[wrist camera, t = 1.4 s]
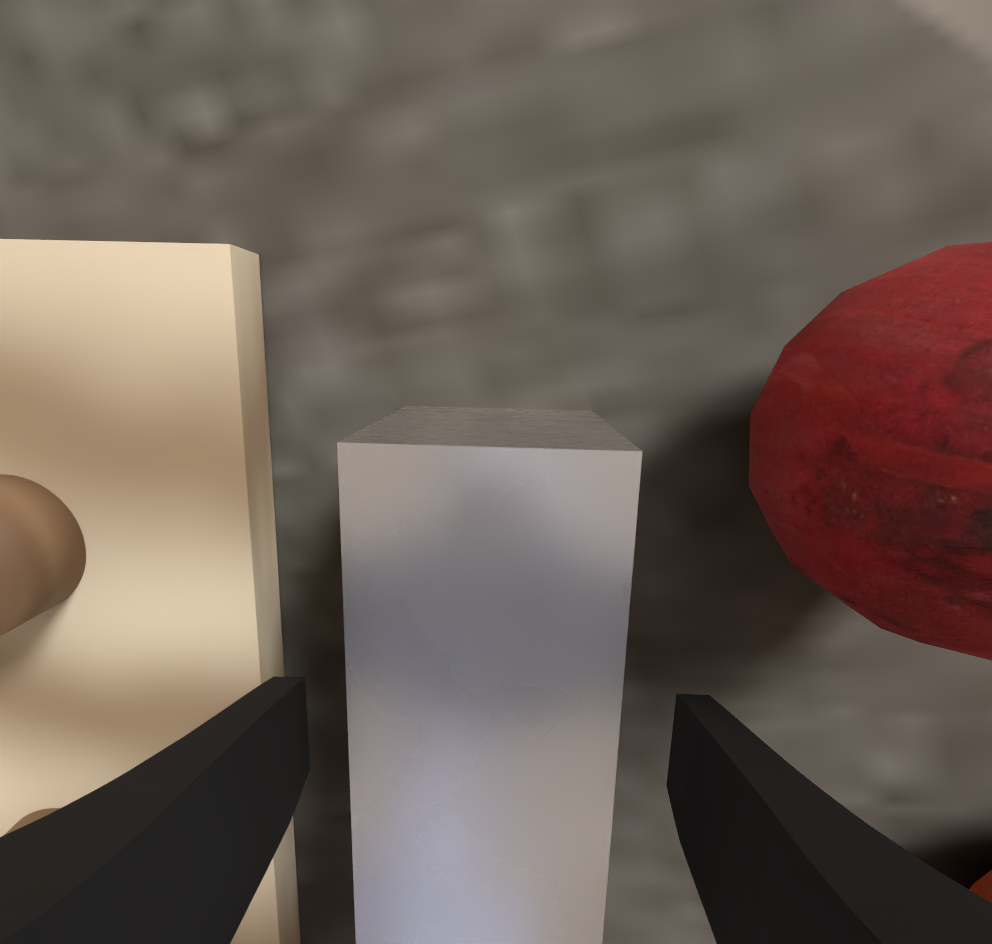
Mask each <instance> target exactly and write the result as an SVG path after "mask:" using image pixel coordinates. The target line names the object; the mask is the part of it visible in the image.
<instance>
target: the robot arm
mask: <svg viewBox="0 0 992 944" xmlns="http://www.w3.org/2000/svg"><path fill="white" fill-rule="evenodd" d="M309 769H310V767H309V749H308V730H307V712H306V693H305V678H300V677H277V676H274V677H272V678H270V679H269V680H267V681H265V682H264V683H262V684H261V685H259V686H258V687H256V688H255V689H253V690H252V691H250V692H249V693H247V694H246V695H244V696H243V697H241V698H240V699H238V700H237V701H235V702H234V703H233V704H231V705H230V706H228V707H227V708H225V709H224V710H222V711H221V712H219V713H218V714H216V715H215V716H213V717H212V718H210V719H209V720H207V721H206V722H205V723H203V724H202V725H200V726H199V727H197V728H196V729H194V730H193V731H191V732H190V733H188V734H187V735H185V736H184V737H182V738H181V739H179V740H177V741H176V742H174V743H173V744H171V745H169V746H168V747H166V748H165V749H163V750H161V751H160V752H158V753H156V754H155V755H153V756H152V757H150V758H148V759H147V760H145V761H144V762H142V763H140V764H139V765H137V766H136V767H134V768H132V769H131V770H129V771H128V772H126V773H124V774H122V775H121V776H119V777H117V778H116V779H114V780H112V781H110V782H108V783H107V784H105V785H103V786H101V787H100V788H98V789H96V790H94V791H92V792H90V793H89V794H87V795H85V796H83V797H81V798H79V799H77V800H75V801H73V802H72V803H70V804H68V805H66V806H64V807H62V808H60V809H58V810H56V811H54V812H52V813H50V814H48V815H46V816H44V817H42V818H40V819H38V820H36V821H34V822H32V823H29V824H27V825H25V826H23V827H21V828H19V829H17V830H14V831H12V832H10V833H8V834H6V835H4V836H1V837H0V944H230V943H231V941H232V939H233V937H234V935H235V933H236V931H237V929H238V927H239V925H240V923H241V921H242V919H243V917H244V915H245V913H246V911H247V909H248V907H249V905H250V903H251V901H252V899H253V897H254V895H255V893H256V891H257V889H258V887H259V885H260V883H261V881H262V879H263V877H264V875H265V873H266V871H267V869H268V867H269V865H270V863H271V861H272V859H273V857H274V855H275V853H276V851H277V849H278V847H279V845H280V843H281V841H282V838H283V836H284V834H285V832H286V830H287V828H288V826H289V824H290V822H291V819H292V816H293V814H294V811H295V808H296V806H297V803H298V800H299V798H300V795H301V792H302V789H303V786H304V783H305V780H306V777H307V774H308V771H309ZM667 789H668V794H669V798H670V802H671V807H672V811H673V816H674V820H675V824H676V828H677V831H678V835H679V839H680V843H681V846H682V849H683V851H684V854H685V857H686V860H687V863H688V866H689V868H690V871H691V874H692V877H693V879H694V882H695V885H696V888H697V891H698V893H699V896H700V899H701V901H702V904H703V907H704V910H705V912H706V915H707V918H708V921H709V923H710V926H711V929H712V931H713V934H714V937H715V940H716V942H717V944H992V903H991V902H989V901H988V900H986V899H984V898H983V897H981V896H979V895H978V894H976V893H974V892H972V891H971V890H969V889H967V888H966V887H964V886H962V885H961V884H959V883H957V882H955V881H954V880H952V879H950V878H949V877H947V876H946V875H944V874H942V873H941V872H939V871H938V870H936V869H934V868H933V867H931V866H930V865H928V864H926V863H925V862H923V861H922V860H920V859H918V858H917V857H916V856H914V855H913V854H911V853H910V852H908V851H907V850H905V849H904V848H902V847H901V846H899V845H898V844H896V843H895V842H893V841H892V840H890V839H889V838H887V837H886V836H884V835H883V834H881V833H880V832H878V831H877V830H875V829H874V828H872V827H871V826H870V825H868V824H867V823H865V822H864V821H863V820H861V819H860V818H858V817H857V816H856V815H854V814H853V813H852V812H850V811H849V810H848V809H846V808H845V807H844V806H842V805H841V804H840V803H838V802H837V801H836V800H834V799H833V798H832V797H830V796H829V795H828V794H827V793H825V792H824V791H823V790H821V789H820V788H819V787H817V786H816V785H815V784H814V783H812V782H811V781H810V780H809V779H807V778H806V777H805V776H804V775H802V774H801V773H800V772H799V771H797V770H796V769H795V768H794V767H793V766H791V765H790V764H789V763H788V762H787V761H785V760H784V759H783V758H782V757H781V756H779V755H778V754H777V753H776V752H775V751H773V750H772V749H771V748H770V747H769V746H768V745H767V744H765V743H764V742H763V741H762V740H761V739H760V738H758V737H757V736H756V735H755V734H754V733H753V732H751V731H750V730H749V729H748V728H747V727H746V726H745V725H743V724H742V723H741V722H740V721H739V720H738V719H737V718H735V717H734V716H733V715H732V714H731V713H730V712H729V711H727V710H726V709H725V708H724V707H723V706H722V705H720V704H719V703H718V702H717V701H716V700H714V699H713V698H712V697H711V696H709V695H694V694H676V704H675V713H674V722H673V731H672V740H671V750H670V759H669V768H668V777H667Z"/></svg>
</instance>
